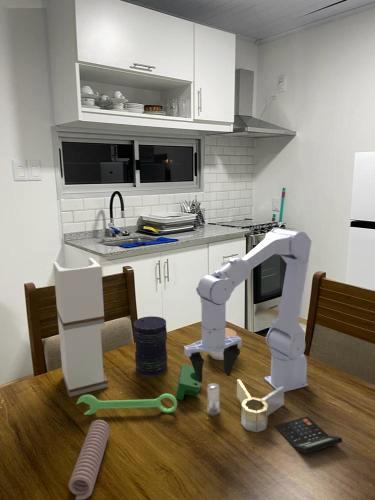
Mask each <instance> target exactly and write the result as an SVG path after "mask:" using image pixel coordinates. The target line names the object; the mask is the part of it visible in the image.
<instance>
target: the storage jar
mask: <svg viewBox="0 0 375 500" xmlns="http://www.w3.org/2000/svg"><path fill="white" fill-rule="evenodd" d="M167 332H168V330H167V320H166V319H165V318H163V317H159V316H153V315H151V316H143V317H140V318H137V319H136V320H135V321H134V322H133V336H134V337H133V339H134V342H135V352H134V357H135V358H134V363H135V371H136V372H137V374H139V375H140V376H144V377H156V376H160V375H162V374H164V373H166V371H167V370H168V350H167V340H168V336H167V335H168V334H167Z"/></svg>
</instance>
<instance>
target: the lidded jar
mask: <svg viewBox="0 0 375 500" xmlns="http://www.w3.org/2000/svg"><path fill="white" fill-rule="evenodd" d="M235 336H238V333H237V332H236V330H234V329H232V328H229V327H225V337H235ZM207 353H208V355H209V356H210V357H211V358H212V359H214V360H217V361H224V355H223V352H216V351H208V352H207Z"/></svg>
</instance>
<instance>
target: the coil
mask: <svg viewBox="0 0 375 500" xmlns="http://www.w3.org/2000/svg"><path fill="white" fill-rule="evenodd" d="M110 433H111V428H110V425H109V423H108V422H106V421H105V420H101V419H97V420H93V421H92V422H91V424H90V425H89V429H88V431H87V434H86V437H85V438H84V442H83V444H82V447H81V450H80V453H79V455H78V458H77V460H76V463H75V465H74V468H73V472H72V474H71V476H70V479H69V481H68V488H69V490H70V492H71V493H72V494H73V495H75V496H76V497H75V500H86V499H87V498H89V497H90V496H92V493H93V492H94V487H95V483H96V480H97V479H98V478H97V476H98V473H99V470H100V467H101V463H102V460H103V457H104V454H105V450H106V446H107V443H108V440H109V436H110Z"/></svg>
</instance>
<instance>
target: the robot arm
mask: <svg viewBox="0 0 375 500" xmlns="http://www.w3.org/2000/svg"><path fill="white" fill-rule="evenodd" d="M311 246H312V240H311V238H310V237H309V235H308V234H307V233H306V232H305V231H296V230H292V229H285V228H281V227H273V228H272V229H271V230H270V231H268V232H267V233H266V234H265V236H264V239H263V240H262V241H260V242H259V243H258V244H257V245H256V246H255V247H253V248H252V249H251V250H250V251H249V252H248V253H246V255H244V256H243V257H242V258H240V257H232V258H230V259H229V260H228V263H226V264H225V265H224V266H222V267H221V268H219V269H218V270H215V271H214V273H213V274H207V275H204V276H203V277H202V278H201V279H200V280H199V282H198V284H197V287H195V291H196V294H197V295H198V296H199V298H200V303H201V340H198V341H195V342H194V343H191V344H188V345H183V351H184V352H183V354H184V355H185V356H186V357H187V358H188V359H189V360H190V363H191V366H193V368H194V371H195V375H196V379H197V381H198V382H199V383H203V367H204V363H205V359H204V358H203V357H202V355H201V354H203V353H208V351H216V352H223V355H224V360H223V373H224V374H225V375H226V376H227V377H230V376H231V375H232V374H231V373H232V370H233V368H234V367H233V366H234V364H235V362H236V360H237V358H238V357H239V355H240V353H241V349H240V347H242V344H243V341H242V338H241V337H240V336H238V335H237V336H235V337H225V328H226V317H227V316H226V315H227V314H226V312H227V311H226V308H227V307H226V305H227V303H226V302H228V301H229V300H230V298H231V296H232V293H234V290H235V289H236V288H237V287H238V286H239V285H241V284H242V283H243V282H244V281H246V280H248V278H250V277H251V274H252V270H253V269H254V268H255V267H257V266H258V265H260V264H262V263H263V262H264V261H266V260H267V259H269V258H270V257H272V256H273V255H279V256H280V257H281V258H282V260H283V261H284V262H285V263H286V268H285V275H284V278H283V279H284V281H283V287H282V293H281V298H280V305H279V310H278V311H279V312H278V315H277V316H278V317H277V319H276V320H274V321H272V322H271V323H270V326H269V330H268V332H267V334H266V337H265V343H266V345H267V346H268V347H269V352H271V358H270V359H271V361H270V375H268V376H264V380H265V382H266V383H268V385H269V384H270V385H271V387H272V388H274V389H275V390H276V389H278V388H279V387H281V386H283V387H284V393H285V392H289V391H292V390H297V389H301V388H304V387H308V386H309V384H308V382H307V376H308V375H307V372H308V371H307V369H308V362H307V358H306V356H305V354H304V352H305V350H306V340H305V339H306V337H305V336H306V332H305V331H304V329H303V327H302V326H301V325H300V323H299V319H300V315H301V308H302V303H303V296H304V290H305V284H306V278H307V273H308V267H309V260H310V259H309V258H310V252H311Z"/></svg>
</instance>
